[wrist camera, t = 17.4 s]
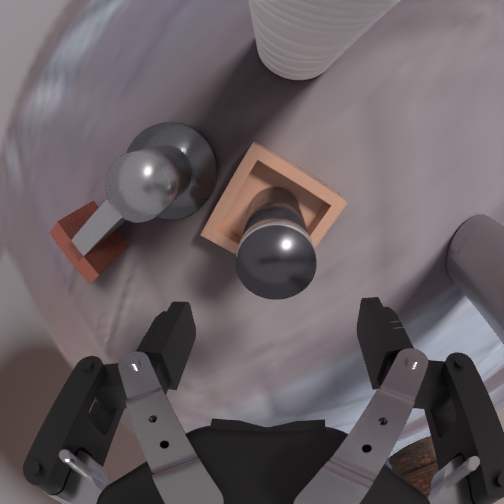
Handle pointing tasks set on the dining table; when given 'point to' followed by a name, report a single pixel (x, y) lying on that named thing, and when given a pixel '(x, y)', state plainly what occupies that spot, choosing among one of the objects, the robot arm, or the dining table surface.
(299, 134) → the dining table surface
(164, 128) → the base
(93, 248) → the crank
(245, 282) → the peg
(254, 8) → the water bottle
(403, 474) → the clay pot
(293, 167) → the tray
